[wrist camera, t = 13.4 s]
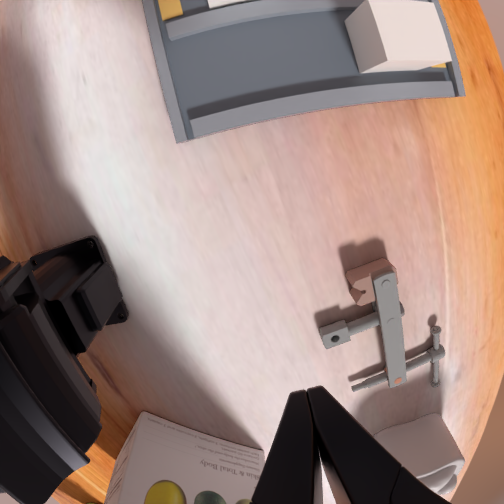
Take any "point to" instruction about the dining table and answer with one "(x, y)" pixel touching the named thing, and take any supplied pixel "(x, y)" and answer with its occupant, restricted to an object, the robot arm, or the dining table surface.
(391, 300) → the clamp
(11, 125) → the dining table surface
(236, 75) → the grey tray
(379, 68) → the white block
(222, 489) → the supplement box
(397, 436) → the lumpy-topped squat cylinder
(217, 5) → the beige block
